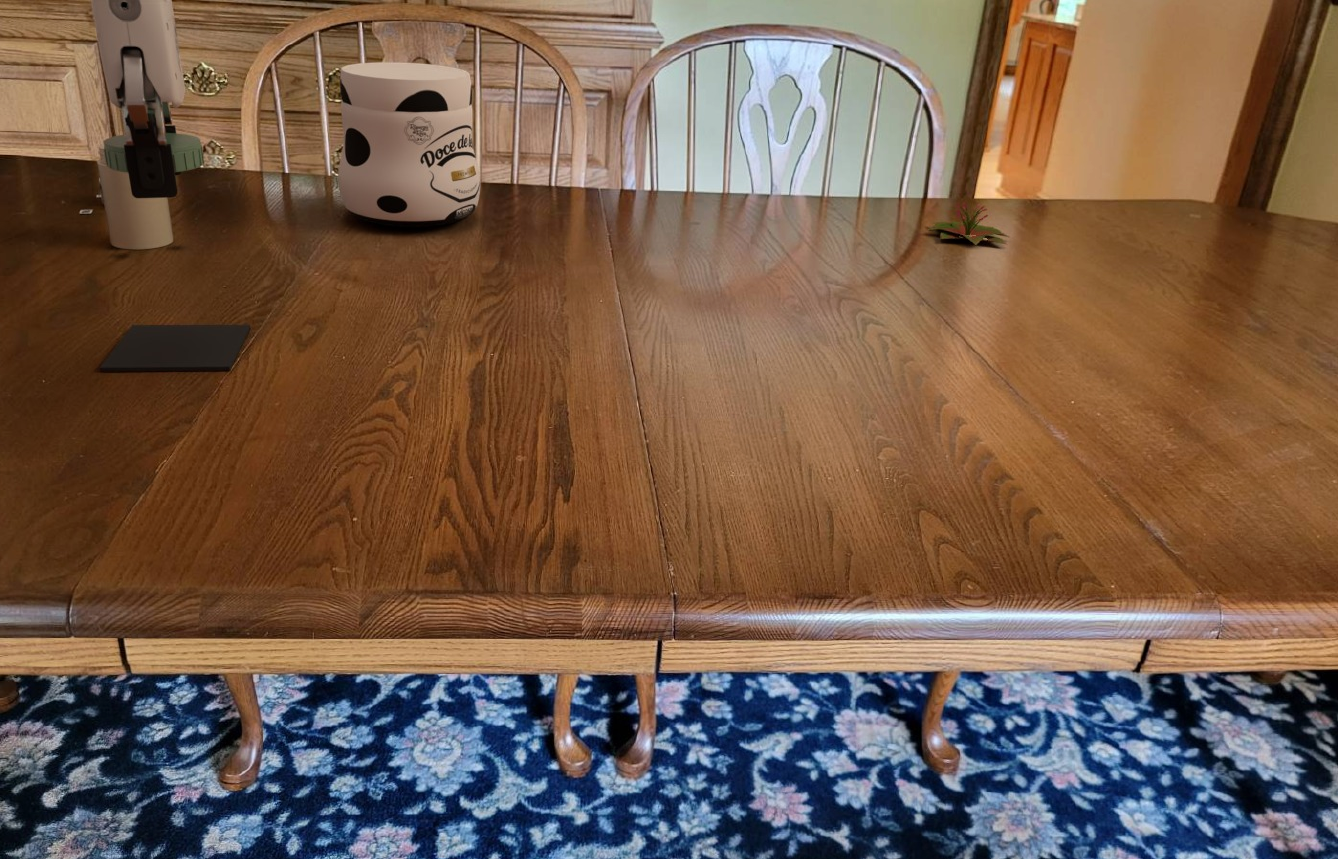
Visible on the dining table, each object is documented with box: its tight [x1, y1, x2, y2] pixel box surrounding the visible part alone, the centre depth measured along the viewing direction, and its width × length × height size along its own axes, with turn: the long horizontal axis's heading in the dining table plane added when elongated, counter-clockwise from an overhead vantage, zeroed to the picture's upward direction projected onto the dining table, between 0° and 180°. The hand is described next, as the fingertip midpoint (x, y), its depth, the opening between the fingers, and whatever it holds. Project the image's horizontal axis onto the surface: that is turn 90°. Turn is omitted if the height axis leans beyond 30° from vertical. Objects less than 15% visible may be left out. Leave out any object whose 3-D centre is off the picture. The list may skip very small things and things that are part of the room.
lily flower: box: [925, 202, 1010, 246], centre depth 143 cm, size 12×12×5 cm
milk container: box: [337, 61, 481, 228], centre depth 130 cm, size 17×17×18 cm
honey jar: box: [96, 142, 174, 251], centre depth 116 cm, size 6×6×11 cm
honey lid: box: [103, 132, 205, 173], centre depth 84 cm, size 7×7×2 cm
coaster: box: [99, 324, 251, 373], centre depth 91 cm, size 10×10×1 cm
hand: (158, 183), depth 85 cm, fingers closed on honey lid, 7 cm apart
